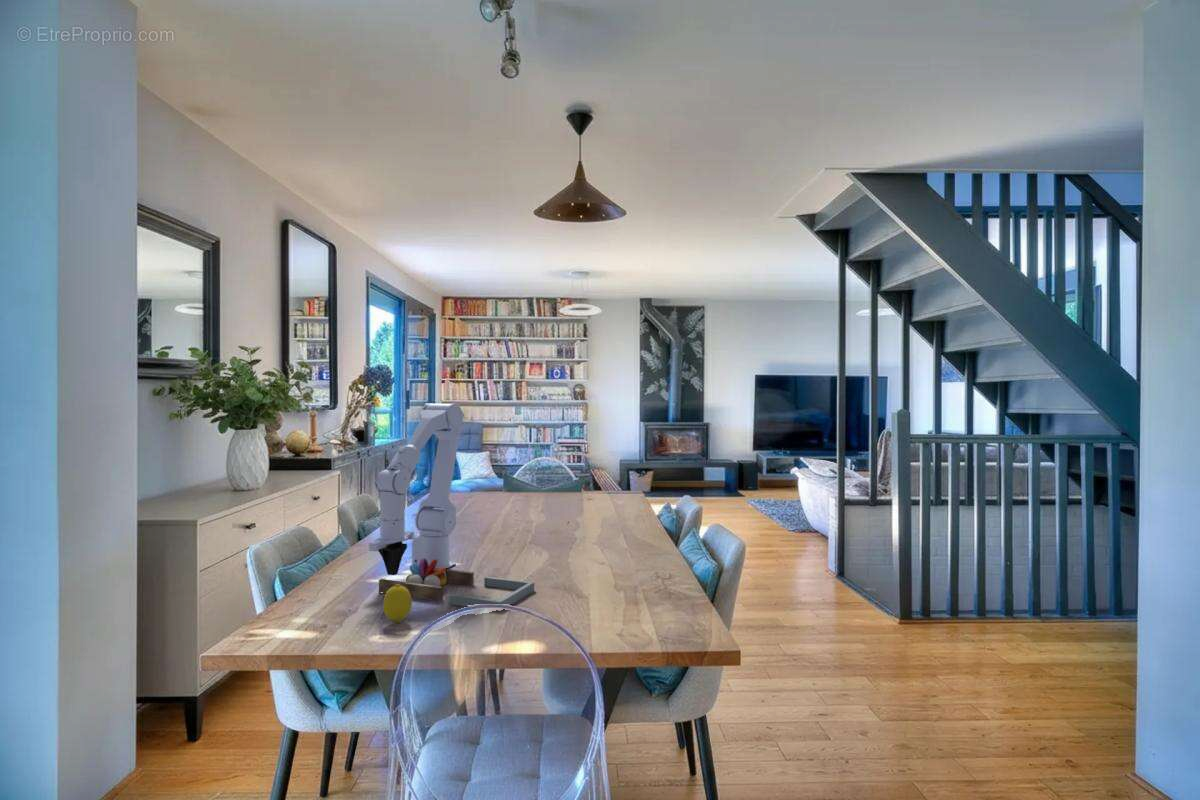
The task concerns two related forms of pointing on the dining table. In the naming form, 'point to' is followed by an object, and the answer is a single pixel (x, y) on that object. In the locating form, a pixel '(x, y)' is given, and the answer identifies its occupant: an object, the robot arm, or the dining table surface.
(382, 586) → the lane rails
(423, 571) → the multicolored rounded disc cluster
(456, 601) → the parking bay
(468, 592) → the dining table surface
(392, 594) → the lemon
